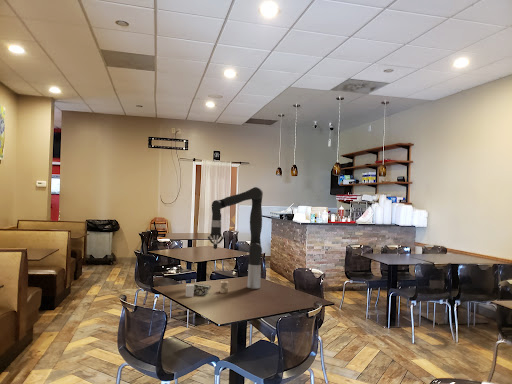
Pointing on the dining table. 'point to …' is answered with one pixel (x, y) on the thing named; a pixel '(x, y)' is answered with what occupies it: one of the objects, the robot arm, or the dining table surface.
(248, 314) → the dining table surface
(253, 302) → the dining table surface
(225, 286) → the birch block
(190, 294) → the grey block
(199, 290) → the food container
